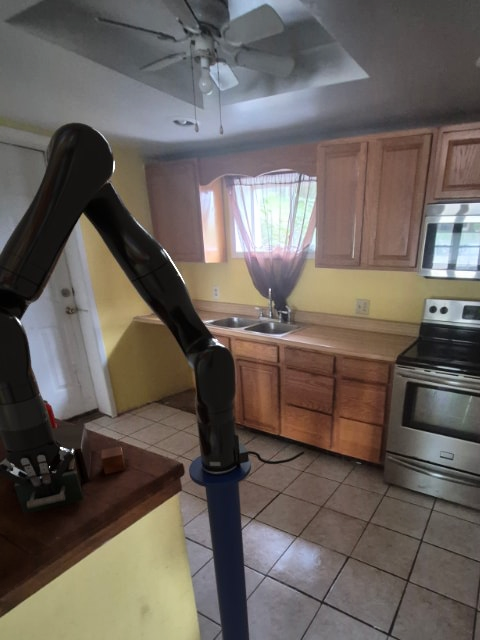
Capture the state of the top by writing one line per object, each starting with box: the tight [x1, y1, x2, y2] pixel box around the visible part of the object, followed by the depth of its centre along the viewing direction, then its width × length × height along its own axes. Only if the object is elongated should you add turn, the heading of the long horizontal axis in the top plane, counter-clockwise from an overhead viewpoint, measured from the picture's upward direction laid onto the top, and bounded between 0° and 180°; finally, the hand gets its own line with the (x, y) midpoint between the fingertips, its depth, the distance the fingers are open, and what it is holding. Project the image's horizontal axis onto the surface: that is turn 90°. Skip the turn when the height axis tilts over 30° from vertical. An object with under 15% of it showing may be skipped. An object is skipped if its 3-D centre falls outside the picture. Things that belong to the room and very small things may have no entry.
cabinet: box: [21, 423, 93, 483], centre depth 88 cm, size 14×12×9 cm
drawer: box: [13, 452, 84, 515], centre depth 78 cm, size 17×10×7 cm, turn 25°
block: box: [100, 445, 126, 475], centre depth 90 cm, size 4×4×4 cm
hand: (49, 497), depth 73 cm, fingers closed
